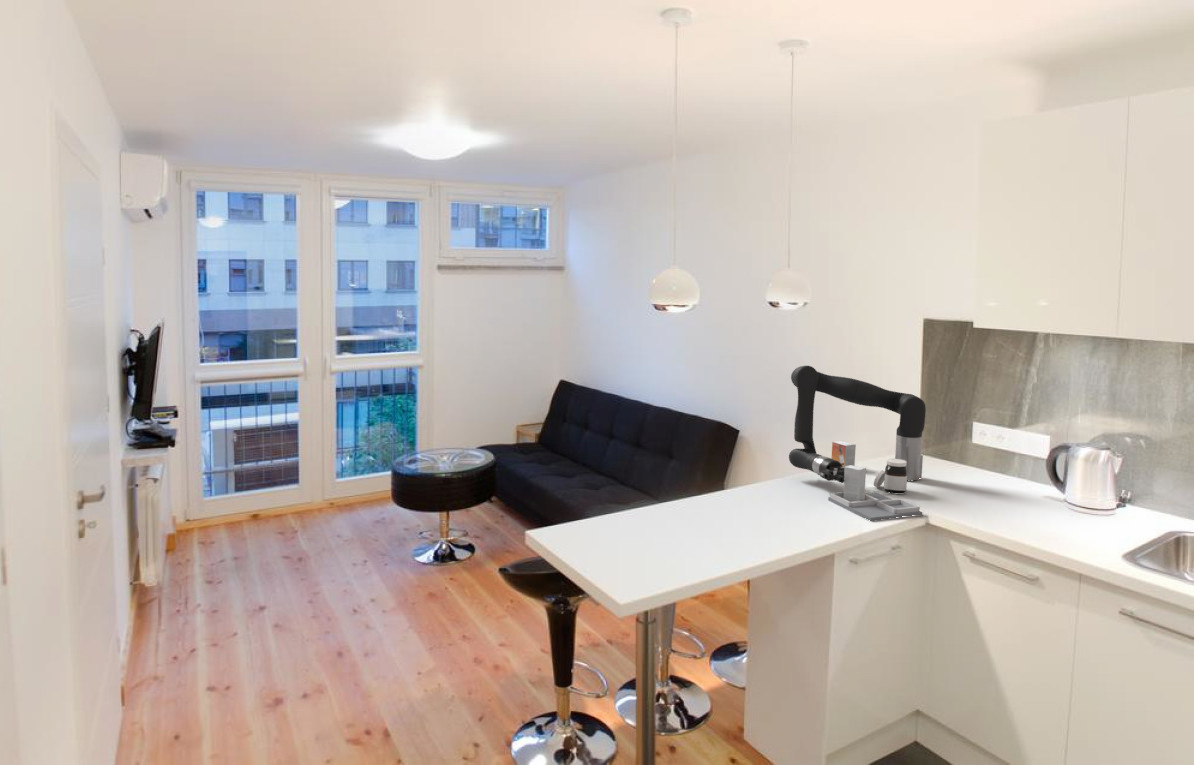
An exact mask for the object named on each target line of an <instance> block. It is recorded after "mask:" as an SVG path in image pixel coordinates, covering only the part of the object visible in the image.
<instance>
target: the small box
mask: <svg viewBox="0 0 1194 765" xmlns="http://www.w3.org/2000/svg"><path fill="white" fill-rule="evenodd" d="M831 443H832V445H831V457H830V458H831V459H834V460H836V461H838V462H840V463H841V465H842V466H843V467H846V466H849V465H852V466H856V464H855V463H856V444H855V443H850V442H846V441H844V440H837V441H832V442H831Z"/></svg>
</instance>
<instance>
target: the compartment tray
mask: <svg viewBox="0 0 1194 765" xmlns="http://www.w3.org/2000/svg"><path fill="white" fill-rule="evenodd" d="M827 500H828V501H830V502H831V503H834V504H835V505H837V506H839V507H840V508H843V509H846V510H847V511H849V512H851V513H853V514H855V515H857V516H859V517H861V518H862V519H865V518H866V519H865V520H867V519H868V520H867V521H869V520H870V521H869V522H876V521H875V520H878V521H882V520H881V519H887V520H890V519H889V518H896V517H902V516H912V515H922V516H923V512H922V511H920V507H921V506H919V505H917V504H914V503H913V502H909V501H907V500H905V499H903V498H891V497H888V496H886V495H884V494H881V493H879V492H875V491H874V492H867V493H866V492H865V501H855V502H851V501H847V500H845V499H844V491H840V492H832V493H829V496H828V499H827Z"/></svg>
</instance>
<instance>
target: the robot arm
mask: <svg viewBox="0 0 1194 765" xmlns="http://www.w3.org/2000/svg"><path fill="white" fill-rule="evenodd" d="M790 374H791V375H790V379H791V382H792V384H793V386H795V387H796V390H797V406H796V412H795V417H794V429H793V430H794V432H793V433H794V434H793V436H794V437H793V438H794V441H795V442H797V443H800V444H802V446H803V448H795V449H792V450H791V451H790V452H789V455H788V460H789V462H790V464H791V465H792V466H793V467H795V468H798V469H801V470H808V471H810V472H812V473H815V474H817V475H818V476H820V478H822V479H824V480H826V481H829V482H832V481H833V482H838V483H841V484H842V483H843V484H844V473H845V467H843V466H842V465H841V463H840V462H838V461H836V460H834V459H831V458H832V457H828V456H823V455H822V454H818V453H817V450H816V446H815V442H814V437H813V436H814V435H813V434H814V406H815V397H816V392H818V393H823V394H826V395H829V396H831V397H834V398H836V399H838V400H841V401H842V400H843V401H845V402H847V403H848V402H849V403H852V404H856V405H859V406H863V407H864V406H866V407H875V408H882V409H884V410H888V411H891V412H894V413H896V414H898V415H899V416H900V417H899V425H898V426H897V428H896V436H895V453H894V454H895V456H894V459H901V460H905V461H906V462H907V463H906V468H907V480H917V481H919V480H920V479H919V478H923V476H922V475H923V462H924V461H923V460H924V458H923V457H924V455H922V440H923V439H922V438H923V431H924V430H925V424H926V415H927V414H926V410H927V409H926V404H925V402H924V400H923V399H922V398H920V397H919V396H917V395H914V394H912V393H911V394H910V393H906V392H897V391H893V390H889V389H885V388H882V387H880V386H878V385H875V384H872V383H870V382H866V381H863V380H860V379H857V378H851V377H845V376H836V375H829V374H825V373H822V372H820V371H817V369H816V368H814V367H813V366H811V365H802V366H798V367H796V368H794V370H793V371H792V372H791V373H790ZM918 479H919V480H918Z"/></svg>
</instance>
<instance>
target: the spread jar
mask: <svg viewBox="0 0 1194 765" xmlns="http://www.w3.org/2000/svg"><path fill="white" fill-rule="evenodd" d="M906 463H907V462H906V461H905V460H901V459H895V458H888V459H886V466H885V469H882V470H880V471H879V472H878V473H877V475H876V477H875V478H874V481H873V486H874V487H875V488H878V489H879V488H880V487H881V486H882V485H883V483H884V485H883V488H884V492H886V493H888V492H890V493H889V494H892V493H904V494H906V492H907V486H908V485H907V484H908V481H907V468H906Z"/></svg>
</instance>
